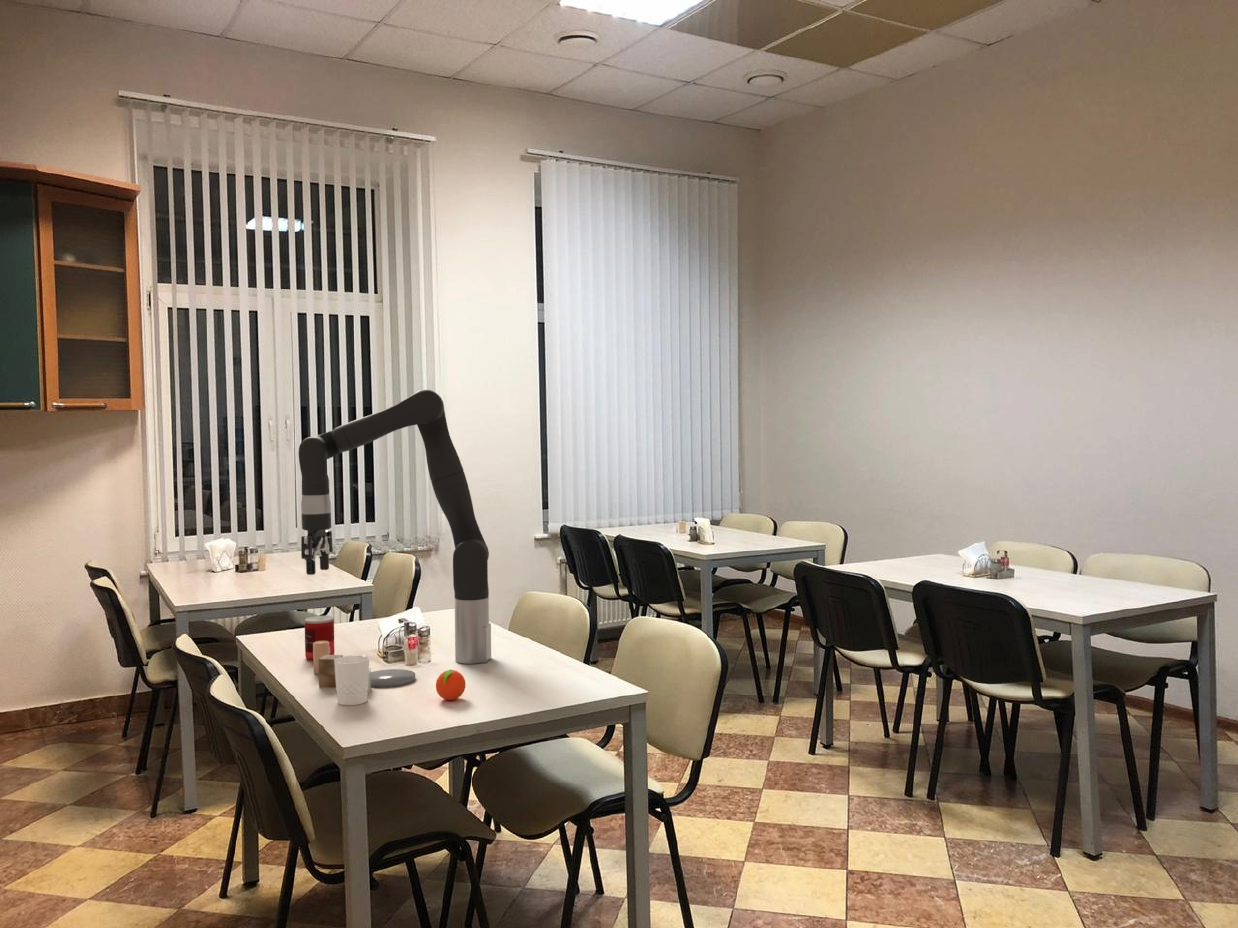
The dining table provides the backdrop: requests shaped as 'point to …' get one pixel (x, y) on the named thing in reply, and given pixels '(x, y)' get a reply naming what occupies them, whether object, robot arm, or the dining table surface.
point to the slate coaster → (391, 678)
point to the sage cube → (369, 681)
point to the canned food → (318, 633)
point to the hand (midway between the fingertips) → (318, 572)
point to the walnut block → (327, 671)
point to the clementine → (450, 685)
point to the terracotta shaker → (319, 653)
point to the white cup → (352, 679)
